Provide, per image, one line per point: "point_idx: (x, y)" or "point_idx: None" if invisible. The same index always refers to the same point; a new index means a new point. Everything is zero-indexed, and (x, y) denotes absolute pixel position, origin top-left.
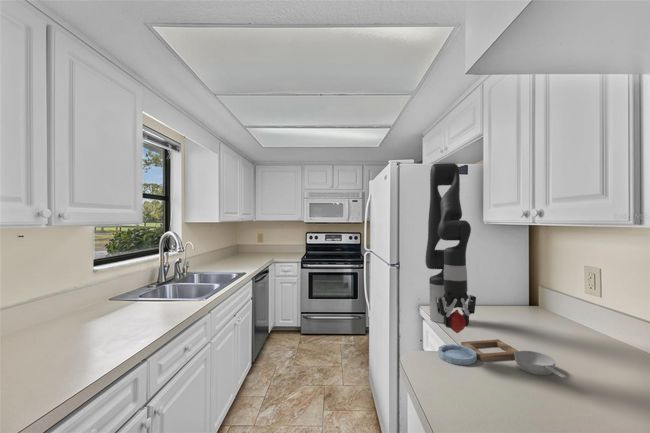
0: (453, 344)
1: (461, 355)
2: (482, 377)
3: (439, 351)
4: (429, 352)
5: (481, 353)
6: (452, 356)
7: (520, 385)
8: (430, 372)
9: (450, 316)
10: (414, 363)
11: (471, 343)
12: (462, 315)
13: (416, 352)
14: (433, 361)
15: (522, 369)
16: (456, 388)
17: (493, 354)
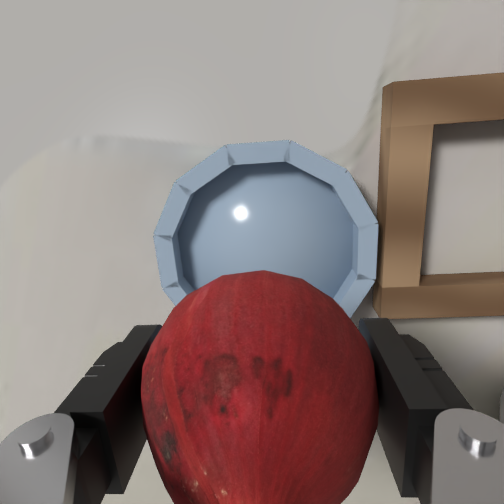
0: (297, 147)
1: (286, 261)
2: None
3: (156, 246)
4: (129, 165)
5: (403, 285)
6: (228, 268)
7: (378, 487)
8: (77, 370)
9: (151, 450)
10: (20, 286)
11: (453, 121)
12: (402, 396)
13: (50, 156)
14: (119, 277)
15: (500, 398)
16: (140, 473)
17: (464, 305)
